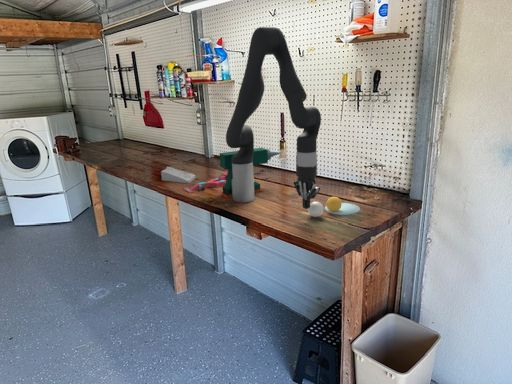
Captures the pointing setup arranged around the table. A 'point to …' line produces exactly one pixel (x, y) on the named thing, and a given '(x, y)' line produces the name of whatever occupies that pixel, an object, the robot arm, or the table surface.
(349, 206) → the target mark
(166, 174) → the ramp
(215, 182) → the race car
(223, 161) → the power tool
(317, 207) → the cue ball
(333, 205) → the object ball
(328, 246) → the table surface
